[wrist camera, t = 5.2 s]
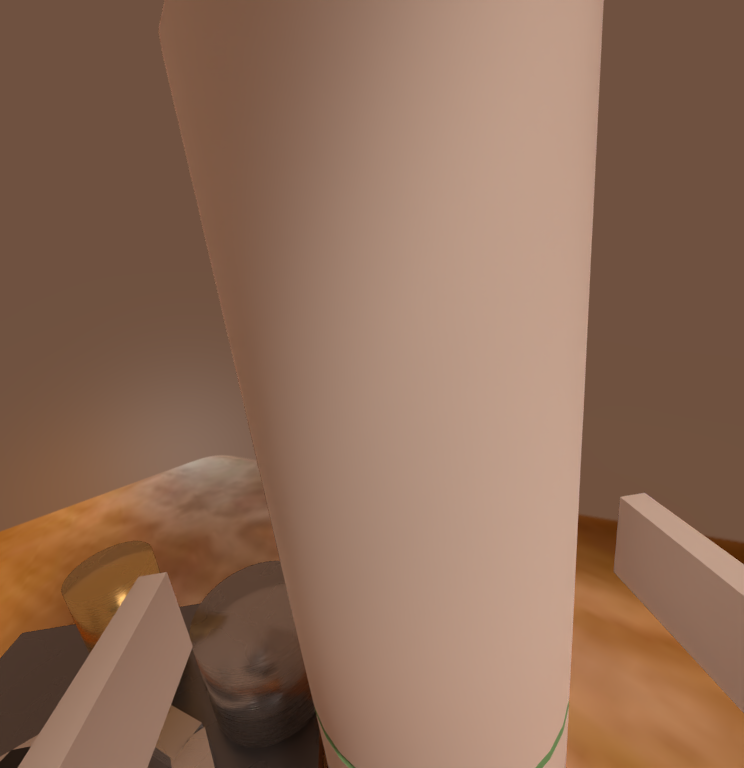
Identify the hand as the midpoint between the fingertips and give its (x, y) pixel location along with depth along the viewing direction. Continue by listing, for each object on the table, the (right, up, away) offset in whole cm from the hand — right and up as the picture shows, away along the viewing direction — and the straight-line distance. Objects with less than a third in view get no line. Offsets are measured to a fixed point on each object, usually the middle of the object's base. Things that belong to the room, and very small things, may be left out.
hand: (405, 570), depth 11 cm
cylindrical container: (+2, -13, +3) cm, 13 cm away
